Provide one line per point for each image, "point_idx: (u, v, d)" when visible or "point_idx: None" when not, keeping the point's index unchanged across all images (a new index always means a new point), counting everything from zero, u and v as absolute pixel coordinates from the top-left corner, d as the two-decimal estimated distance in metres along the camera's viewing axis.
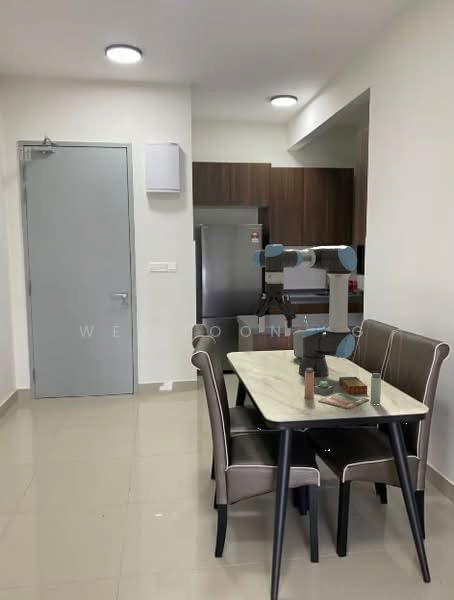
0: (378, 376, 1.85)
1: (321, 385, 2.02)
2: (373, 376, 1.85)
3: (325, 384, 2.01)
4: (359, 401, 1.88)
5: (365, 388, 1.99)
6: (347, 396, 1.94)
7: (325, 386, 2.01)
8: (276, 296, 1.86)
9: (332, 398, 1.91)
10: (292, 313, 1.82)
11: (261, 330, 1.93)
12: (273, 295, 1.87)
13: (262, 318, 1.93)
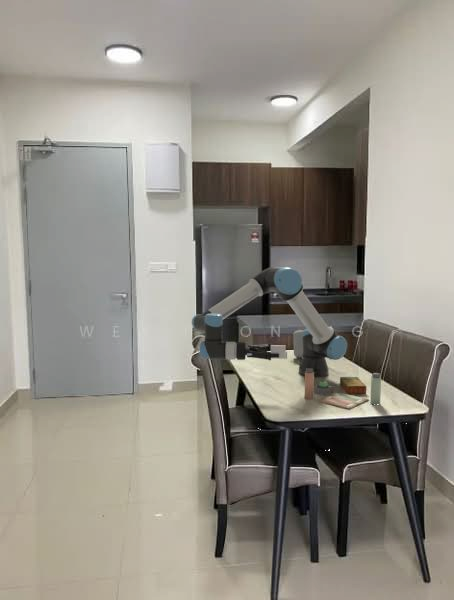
0: (378, 376, 1.85)
1: (321, 385, 2.02)
2: (373, 376, 1.85)
3: (325, 384, 2.01)
4: (359, 401, 1.88)
5: (364, 388, 1.99)
6: (347, 396, 1.94)
7: (325, 386, 2.01)
8: None
9: (332, 398, 1.91)
10: (264, 357, 1.86)
11: (283, 350, 2.01)
12: None
13: (272, 348, 2.01)
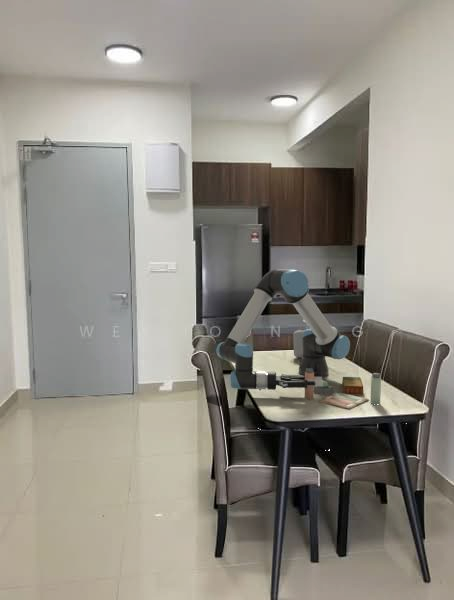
0: (378, 376, 1.85)
1: None
2: (373, 376, 1.85)
3: (325, 384, 2.01)
4: (359, 401, 1.88)
5: (361, 388, 1.99)
6: (347, 396, 1.94)
7: (325, 386, 2.01)
8: None
9: (332, 398, 1.91)
10: (301, 385, 1.89)
11: None
12: None
13: None
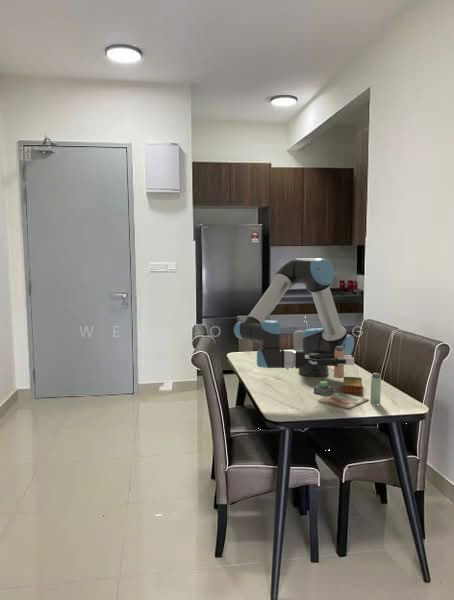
0: (378, 376, 1.85)
1: (321, 385, 2.02)
2: (373, 376, 1.85)
3: (325, 384, 2.01)
4: (359, 401, 1.88)
5: (359, 388, 1.99)
6: (347, 396, 1.94)
7: (325, 386, 2.01)
8: None
9: (332, 398, 1.91)
10: (331, 363, 1.81)
11: None
12: None
13: None
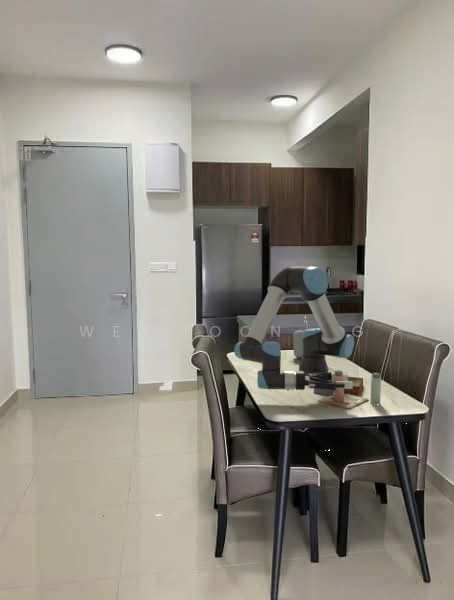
0: (378, 376, 1.85)
1: None
2: (373, 376, 1.85)
3: None
4: (359, 401, 1.88)
5: (357, 389, 1.99)
6: (347, 396, 1.94)
7: None
8: None
9: (332, 398, 1.91)
10: (329, 387, 1.79)
11: (345, 380, 1.92)
12: None
13: (333, 377, 1.92)
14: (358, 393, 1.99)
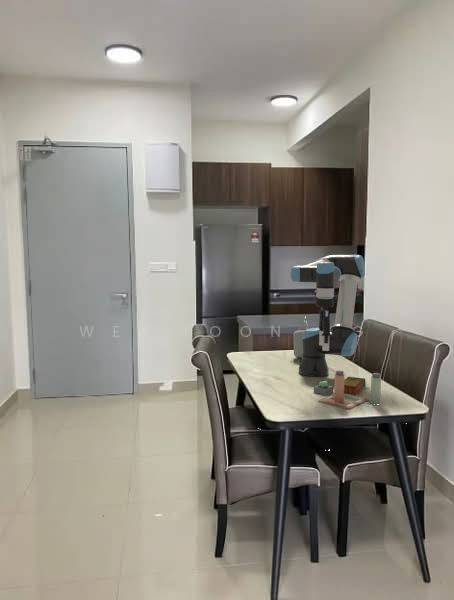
0: (378, 376, 1.85)
1: (321, 385, 2.02)
2: (373, 376, 1.85)
3: (325, 384, 2.01)
4: (359, 401, 1.88)
5: (354, 388, 1.99)
6: (347, 396, 1.94)
7: (325, 386, 2.01)
8: (322, 310, 1.98)
9: (332, 398, 1.91)
10: (326, 329, 1.92)
11: (320, 343, 2.07)
12: (322, 309, 1.99)
13: (322, 332, 2.06)
14: (355, 393, 1.99)
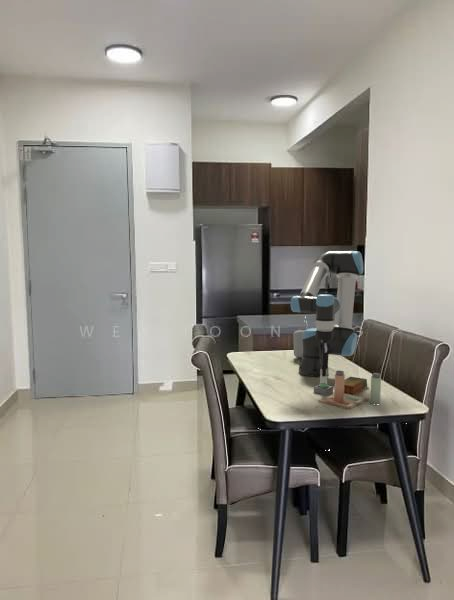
0: (378, 376, 1.85)
1: (321, 386, 2.02)
2: (373, 376, 1.85)
3: (325, 385, 2.01)
4: (359, 401, 1.88)
5: (351, 388, 1.99)
6: (347, 396, 1.94)
7: (325, 387, 2.01)
8: (322, 341, 1.99)
9: (332, 398, 1.91)
10: (324, 364, 1.98)
11: None
12: (321, 341, 2.01)
13: None
14: (352, 393, 1.99)
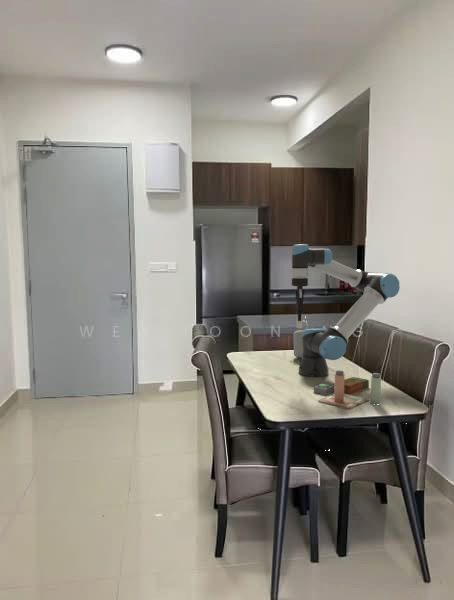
0: (378, 376, 1.85)
1: None
2: (373, 376, 1.85)
3: (325, 387, 2.01)
4: (359, 401, 1.88)
5: (348, 388, 2.00)
6: (347, 396, 1.94)
7: None
8: (297, 288, 2.12)
9: (332, 398, 1.91)
10: (299, 309, 2.11)
11: None
12: (297, 288, 2.14)
13: None
14: (349, 392, 2.00)
